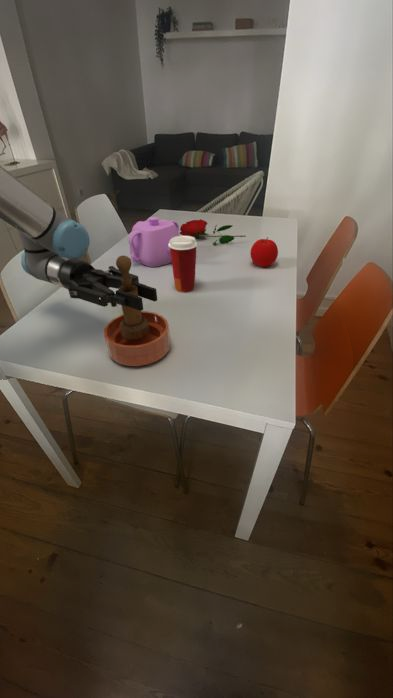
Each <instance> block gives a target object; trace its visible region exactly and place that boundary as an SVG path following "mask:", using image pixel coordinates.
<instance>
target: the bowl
mask: <svg viewBox="0 0 393 698" xmlns="http://www.w3.org/2000/svg"><path fill="white" fill-rule="evenodd" d="M141 315H142V317H144V318H146V319H147V320H148V324H149V333H148V334H147V335H146V336H145V337H143V338H140V339H136V340H128V339H125V338H124V337H122V335H121V331H120V323H121V322H122V321H123V320H124V315H123V314H120V315H117V316H116V317H114V318H112V319H111V320H110V321H109V322H108V323H106V325H105V327H104V329H103V337H104V340H105V344H106V348H107V353H108V356H109V357H110V358H111V360H113V361H114V362H116V363H117V364H120V365H123V366H127V367H141V366H146V365H150V364H153V363H155V362H157V361H159V360H161V359H162V358H163V357H165V356H166V354H167V353H168V352H169V350H170V348H171V347H170V346H171V338H170V326H169V322H168V320H167V318H165V317H164V316H163V315H161V314H159V313H156V312H153V311H147V310H145V311H144V310H142V311H141Z"/></svg>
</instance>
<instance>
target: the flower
mask: <svg viewBox="0 0 393 698" xmlns="http://www.w3.org/2000/svg"><path fill="white" fill-rule="evenodd" d="M207 225H208V221H206V220H205V219H201V218H200V219H191V220H189V221H186V222H185V223H182V224H181V225H180V226H179V235H180V236H191V237H194V238H195V239H196V240H197V239H198V238H199V237H207V238H208V237H209V238H218V240H217V239H215V241H214V242H213V243H212V246H218V243H217V242H219V243H220V244H228V243H230V242H233V241H234V239H235V238H237V237H239V238H243V237H247V235H229V234H224V235H223V234H221V235H215V234H216V232H217V233H218V234H220V232H222V231H226V230H229V229H231V228H233V226H234V225H233V224H232V225H231V224H227V225H222V226H220V227H219V228H217V226H218V224H216V225H215V226H214V229H213V231H212V234H213V235H210V234H209V233H206V231H207V228H206V227H207Z"/></svg>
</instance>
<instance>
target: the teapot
mask: <svg viewBox="0 0 393 698" xmlns="http://www.w3.org/2000/svg"><path fill="white" fill-rule="evenodd" d="M176 236H181V234H180V226H179V223H178V222H177V221H175V220H172V219H170V220H167V219H162V218H159V217H158V216H150V217H148V218H147V220H139V221H137V222H136V223H135V224H134V225H133V226H132V229H131V233H130V234H129V236H128V238H127V239H128V244H129V254H130V260H131V261H133V262H136V263H138V264H140V265H143V266H146V267H149V268H157V267H161V266H165V265H168V264H170V263H171V264H172V260H171V252H170V247H169V246H168V244H169V241H170V240H171V239H172V238H173V237H176Z"/></svg>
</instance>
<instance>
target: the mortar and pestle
mask: <svg viewBox="0 0 393 698" xmlns="http://www.w3.org/2000/svg"><path fill="white" fill-rule="evenodd" d="M132 265H133V263H132V259H131V257H130V256H127V255H119V256H118V257H117V258H116V260H115V266H116V269H118V270H120V271H121V273H122V277H121V282H122V284H123V286H121V287H119V289H118V290H120V291H123V292H126V293H129V294H132V295H135V296H138V289H137V286H135V285H132V277H131V276H130V275H129V273H130V270H131V268H132ZM138 297H139V296H138ZM121 309H122V315H124V320H123V321H122V322H121V323H120V331H121V335H122V337H124V338H125V339H128V340H136V339H140V338H143V337H145V336H146V335H147V334H148V333H149V324H148V320H147V319H146V318H144V317H142V315H141V311H139V310H137V309H134V308H131V307H128V306H122V305H121Z"/></svg>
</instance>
